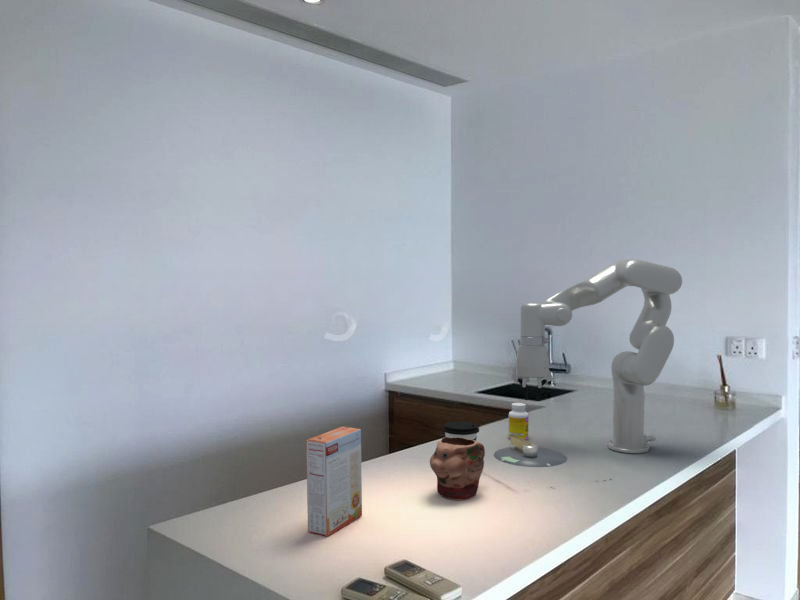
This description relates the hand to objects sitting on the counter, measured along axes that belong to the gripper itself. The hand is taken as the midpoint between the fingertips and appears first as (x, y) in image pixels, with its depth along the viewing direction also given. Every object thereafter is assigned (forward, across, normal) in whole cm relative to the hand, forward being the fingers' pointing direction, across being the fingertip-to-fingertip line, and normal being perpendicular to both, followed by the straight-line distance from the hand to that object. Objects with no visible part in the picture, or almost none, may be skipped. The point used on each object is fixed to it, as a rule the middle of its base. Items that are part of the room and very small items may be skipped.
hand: (531, 399), depth 207 cm
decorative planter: (+17, +16, +43) cm, 49 cm away
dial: (+17, 0, +8) cm, 19 cm away
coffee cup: (+17, +20, +19) cm, 32 cm away
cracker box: (+17, +40, +71) cm, 84 cm away
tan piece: (+16, +2, +5) cm, 17 cm away
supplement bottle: (+17, +5, -12) cm, 22 cm away
